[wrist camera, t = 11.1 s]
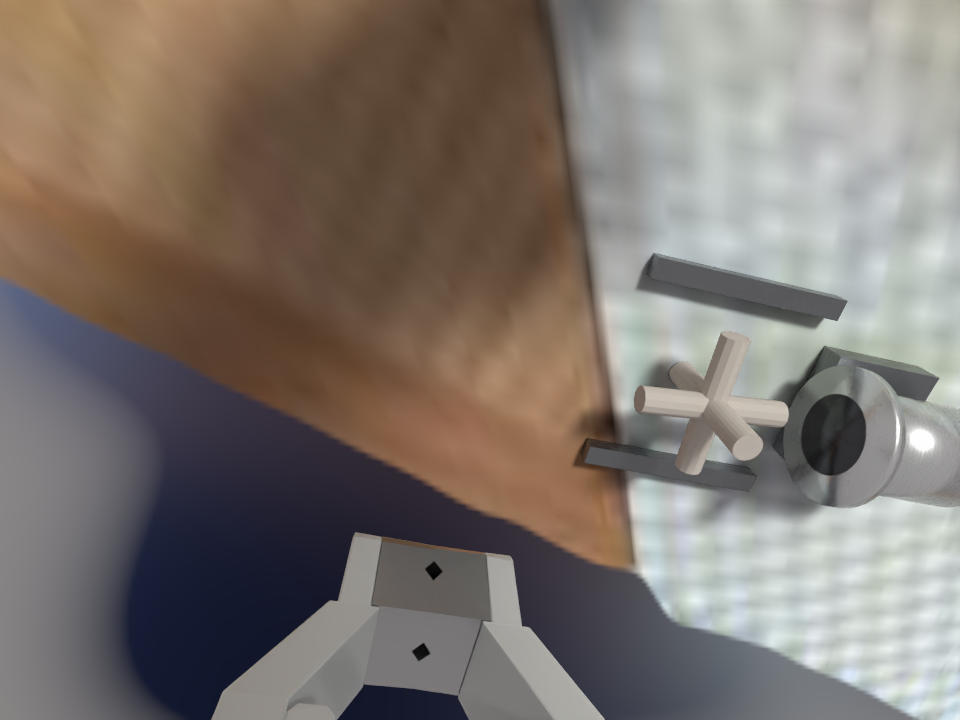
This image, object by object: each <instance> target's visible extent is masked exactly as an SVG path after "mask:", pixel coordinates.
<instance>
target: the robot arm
mask: <svg viewBox="0 0 960 720" xmlns="http://www.w3.org/2000/svg"><path fill="white" fill-rule="evenodd" d="M363 684H367V685H378V686H390V687H403V688H412V689H419V690H426V691H432V692H439V693H447V694H453V695H459V697H458V699H459V701H460V703H461V704H462V706H463V708H464V710H465V712H466V714H467V716H468V718H469V720H605V719H604V718H603V717H602V716H601V714H600V713H599V712H598V711H597V709H596V708H595V707H594V706H593V705H592V704H591V702H590V701H589V700H588V698H587V697H586V696H585V695H584V694H583V692H582V691H581V690H580V689H579V688H578V686H577V685H576V684H575V683H574V681H573V680H572V679H571V678H570V676H569V675H568V674H567V673H566V672H565V670H564V669H563V668H562V667H561V666H560V664H559V663H558V662H557V661H556V659H555V658H554V657H553V656H552V654H551V653H550V652H549V651H548V650H547V648H546V647H545V646H544V645H543V643H542V642H541V641H540V640H539V639H538V637H537V636H536V635H535V634H534V633H533V631H532V630H531V629H530V628H528V627H522V624H521V617H520V610H519V603H518V596H517V588H516V581H515V574H514V567H513V560H512V559H511V557H510V556H506V555H499V554H490V553H481V552H474V551H467V550H460V549H453V548H447V547H440V546H432V545H427V544H421V543H416V542H410V541H404V540H399V539H393V538H387V537H378V536H373V535H367V534H362V533H355V534H354V537H353V540H352V544H351V548H350V552H349V557H348V561H347V565H346V569H345V574H344V578H343V583H342V587H341V591H340V595H339V599H338V601H329V602H327V603H326V604H325V605H324V606H323V607H322V608H320V609H319V610H318V611H317V612H316V613H315V614H313V615H312V616H311V617H310V618H309V619H308V620H306V621H305V622H304V623H303V624H301V625H300V626H299V627H298V628H297V629H296V630H294V631H293V632H292V633H291V634H290V635H289V636H287V637H286V638H285V639H284V640H283V641H281V642H280V643H279V644H278V645H277V646H276V647H275V648H273V649H272V650H271V651H270V652H269V653H267V654H266V655H265V656H264V657H263V658H261V659H260V660H259V661H258V662H257V663H256V664H254V665H253V666H252V667H251V668H250V669H249V670H247V671H246V672H245V673H244V674H243V675H242V676H240V677H239V678H238V679H237V680H236V681H234V682H233V683H232V684H231V685H230V686H229V687H227V688H226V689H225V690H224V691H223V692H222V695H221V697H220V700H219V702H218V705H217V707H216V710H215V712H214V715H213V717H212V719H211V720H337V719H338V717H339V716H340V715H341V713H342V712H343V711H344V710H345V709H346V707H347V706H348V705H349V703H350V702H351V701H352V700H353V699H354V697H355V696H356V695H357V694H358V692H359V691H360V690H361V688H362V687H363Z"/></svg>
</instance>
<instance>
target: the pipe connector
mask: <svg viewBox="0 0 960 720" xmlns="http://www.w3.org/2000/svg"><path fill="white" fill-rule="evenodd" d="M750 343H751V340H750V339H749V338H748V337H746V336H744V335H741V334H739V333H735V332H730V331H723V332H721V334H720V337H719V340H718V343H717V345H716V348H715V351H714V354H713V356H712V359H711V362H710V365H709V368H708V370H707V373H706V376H705V379H704V378H703V377H702V376H701V375H700V374H699V372H698V371H697V370H696V369H695V368H694V367H693V366H692V365H691V364H690V363H688V362H678V363H676V364H675V365H673V367H672V368H671V369H670V372H669V377H670V379H671V380H672V382H673V383H674V384H675V385H676V386H677V388H678V389H679V390H678V389H669V388H660V387H651V386H643V385H640V386H639V387H638V388H637V390H636V392H635V397H634V407H635V410H636V411H637V412H638V413H643V414H653V415H662V416H671V417H681V418H690V421H689V423H688V426H687V429H686V432H685V434H684V437H683V440H682V443H681V446H680V448H679V451H678V454H677V457H676V460H675V466H676V467H677V468H678V469H679V470H680V471H682V472H684V473H687V474H691V475H698V474H699V473H700V472H701V470H702V467H703V465H704V462H705V460H706V457H707V454H708V452H709V449H710V447H711V444H712V441H713V439H714V436H715V434H716V435H717V436H718V437H719V438H720V439H721V441H722V442H723V443H724V444H725V446H726V447H727V448H728V449H729V450H730V452H731V453H732V454H733V455H734V456H735V457H736V458H737V459H739V460H742V461H745V460H750V459H753V458H755V457H756V456H757V455H758V454H759V453H760V452H761V450H762V448H763V441H762V439H761V438H760V437H759V436H758V435H757V434H756V432H755V431H754V430H753V429H752V428H751V427H750V426H749V425H756V426H765V427H775V428H781V427H783V426H784V425H785V424H786V423H787V421H788V417H789V411H788V407H787V405H786V404H785V403H784V402H781V401H775V400H766V399H757V398H748V397H740V396H731V392H732V390H733V387H734V384H735V382H736V379H737V377H738V374H739V371H740V369H741V366H742V364H743V361H744V358H745V356H746V353H747V351H748V348H749V345H750Z"/></svg>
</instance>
